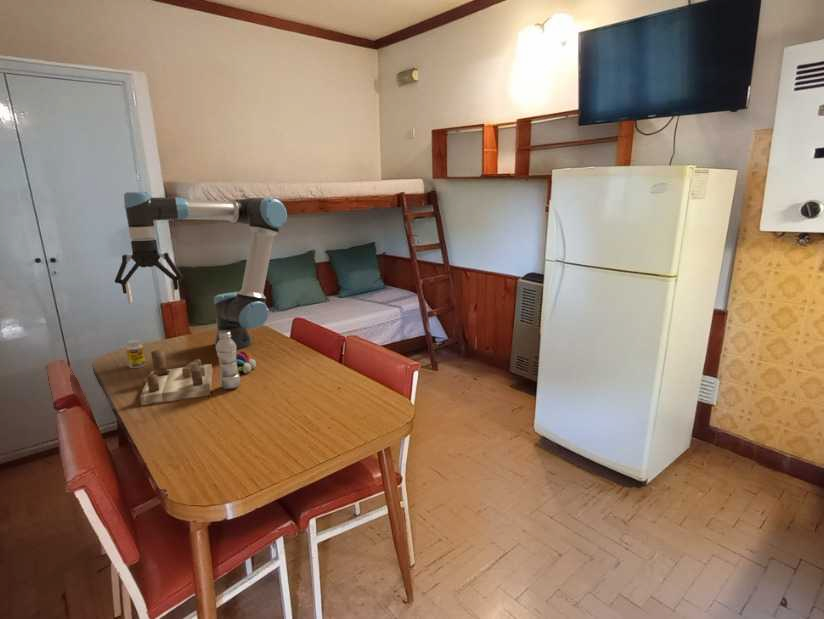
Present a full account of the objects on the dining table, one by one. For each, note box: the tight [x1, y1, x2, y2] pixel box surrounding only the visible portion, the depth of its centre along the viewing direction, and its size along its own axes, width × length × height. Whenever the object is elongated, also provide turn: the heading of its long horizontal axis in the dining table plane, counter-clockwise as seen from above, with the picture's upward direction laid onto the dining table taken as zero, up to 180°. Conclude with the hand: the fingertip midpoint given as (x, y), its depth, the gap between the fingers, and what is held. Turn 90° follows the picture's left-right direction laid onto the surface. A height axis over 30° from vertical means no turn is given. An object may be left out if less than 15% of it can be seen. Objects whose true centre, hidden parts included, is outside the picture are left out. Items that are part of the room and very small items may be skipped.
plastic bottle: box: [215, 330, 241, 390], centre depth 155 cm, size 6×7×20 cm
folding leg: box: [181, 358, 202, 377], centre depth 163 cm, size 9×3×3 cm, turn 178°
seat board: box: [139, 363, 213, 406], centre depth 158 cm, size 20×22×8 cm
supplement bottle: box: [125, 339, 146, 369], centre depth 177 cm, size 6×6×10 cm
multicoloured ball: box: [236, 350, 257, 374], centre depth 172 cm, size 8×10×7 cm
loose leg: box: [150, 349, 168, 377], centre depth 162 cm, size 4×4×11 cm
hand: (153, 300), depth 159 cm, fingers open, 13 cm apart
